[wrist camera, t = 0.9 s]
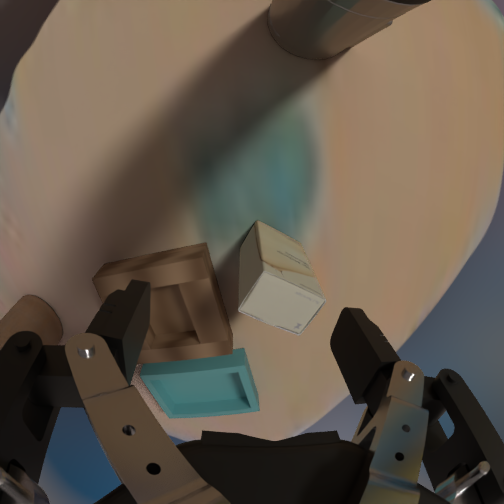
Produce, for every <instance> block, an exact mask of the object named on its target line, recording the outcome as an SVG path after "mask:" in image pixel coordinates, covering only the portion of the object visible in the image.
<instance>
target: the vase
mask: <svg viewBox="0 0 504 504" xmlns="http://www.w3.org/2000/svg"><path fill="white" fill-rule="evenodd" d="M20 331H32V332H35V333H36V334H38V335H39V336H40V337H41V340H42V343H43V345H57V344H58V343H59V341H60V339H61V337H62V334H63V330H62V325H61V322H60V320H59V318H58V316H57V315H56V313H55V312H54V310H53V309H52V308H51V307H50V306H49V305H48V304H47V303H46V302H45V301H43V300H42V299H40V298H38V297H36V296H33V295H25V296H23V297H22V298H21V299H20V300H19V301H18V302H17V303H16V304H15V305H14V306H13V307H12V308H11V309H10V310H9V312H8V313H7V314H6V315H5V316H4V317H3V318H2V319H1V321H0V350H1V349H2V347H3V346H4V344H5V343H6V341H7V340H8V339H9V337H11V336H12V335H13V334H15V333H17V332H20Z"/></svg>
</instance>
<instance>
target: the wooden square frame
mask: <svg viewBox="0 0 504 504" xmlns="http://www.w3.org/2000/svg"><path fill="white" fill-rule="evenodd" d="M132 279H134V280H140V281H146V282H150V284H151V298H150V323H149V328H148V331H147V334H146V337H145V340H144V343H143V346H142V349H141V352H140V355H139V358H138V361H137V364H145V363H159V362H170V361H181V360H190V359H199V358H207V357H215V356H222V355H230V354H233V333H232V330H231V327H230V323H229V320H228V317H227V313H226V310H225V307H224V303H223V300H222V297H221V293H220V290H219V286H218V283H217V279H216V276H215V272H214V268H213V265H212V261H211V258H210V254H209V250H208V247H207V243H201V244H196V245H191V246H186V247H182V248H177V249H172V250H167V251H162V252H158V253H153V254H148V255H143V256H139V257H134V258H130V259H125V260H120V261H116V262H111V263H107V264H104V265H103V266H102V267H101V269H100V270H99V271H98V272H97V273H96V275H95V276H94V277H93V278H92V281H93V283H94V285H95V287H96V290H97V292H98V294H99V296H100V298H101V300H102V302H103V303H104V301H105V300H106V298H107V297H108V295H109V294H111V293H112V292H114V291H116V290H117V289H119V290H125V289H126V288H127V286H128V284H129V283H130V281H131V280H132Z"/></svg>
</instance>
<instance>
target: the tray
mask: <svg viewBox="0 0 504 504" xmlns="http://www.w3.org/2000/svg"><path fill="white" fill-rule="evenodd" d="M140 377H141V379H142V380H143V382H144V383H145V385H146V386H147V388H148V389H149V391H150V392H151V394H152V395H153V396H154V398H155V399H156V401H157V402H158V404H159V405H160V406H161V408H162V409H163V411H164V412H165V413H166V415H167V416H168V417H169V418H193V417H209V416H221V415H231V414H240V413H248V412H255V411H260V408H259V397H258V392H257V389H256V386H255V383H254V379H253V376H252V373H251V369H250V366H249V363H248V359H247V356H246V353H245V349H244V348H242V349H235V350H233V354H230V355H222V356H215V357H207V358H199V359H190V360H181V361H170V362H159V363H145V364H143V367H142V370H141V373H140Z"/></svg>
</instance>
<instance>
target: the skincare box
mask: <svg viewBox="0 0 504 504" xmlns="http://www.w3.org/2000/svg"><path fill="white" fill-rule="evenodd" d="M325 303H326V299H325V296H324V294H323V292H322V290H321V287H320V285H319V283H318V281H317V278H316V276H315V274H314V272H313V269H312V267H311V265H310V263H309V260H308V258H307V256H306V254H305V252H304V249H303V247H302V245H301V243H299V242H298V241H296V240H294V239H292V238H291V237H289V236H287V235H285V234H283V233H281V232H280V231H278V230H276V229H274V228H272V227H270V226H268V225H266V224H264V223H262V222H260V221H258V220H257V221H256V222H255V224H254V225H253V227H252V229H251V230H250V232H249V234H248V235H247V237H246V239H245V240H244V242H243V244H242V246H241V247H240V261H239V299H238V311H239V312H241V313H243V314H246V315H248V316H250V317H253V318H255V319H257V320H260V321H262V322H264V323H267V324H269V325H272V326H274V327H277V328H280V329H282V330H285V331H288V332H291V333H294V334H296V335H300V334H301V333H302V332H303V331H304V330H305V328H306V327H307V326H308V325H309V324H310V322H311V321H312V320H313V318H314V317H315V316H316V315H317V313H318V312H319V311H320V309H321V308H322V307H323V305H324V304H325Z"/></svg>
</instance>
